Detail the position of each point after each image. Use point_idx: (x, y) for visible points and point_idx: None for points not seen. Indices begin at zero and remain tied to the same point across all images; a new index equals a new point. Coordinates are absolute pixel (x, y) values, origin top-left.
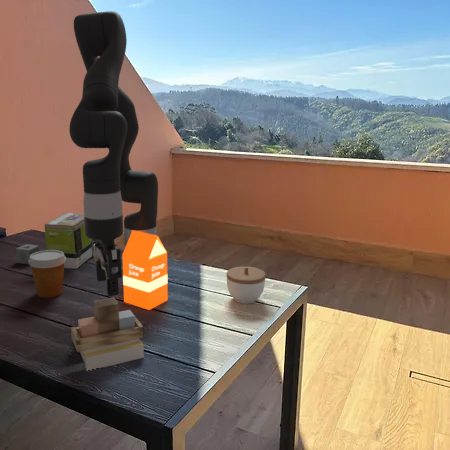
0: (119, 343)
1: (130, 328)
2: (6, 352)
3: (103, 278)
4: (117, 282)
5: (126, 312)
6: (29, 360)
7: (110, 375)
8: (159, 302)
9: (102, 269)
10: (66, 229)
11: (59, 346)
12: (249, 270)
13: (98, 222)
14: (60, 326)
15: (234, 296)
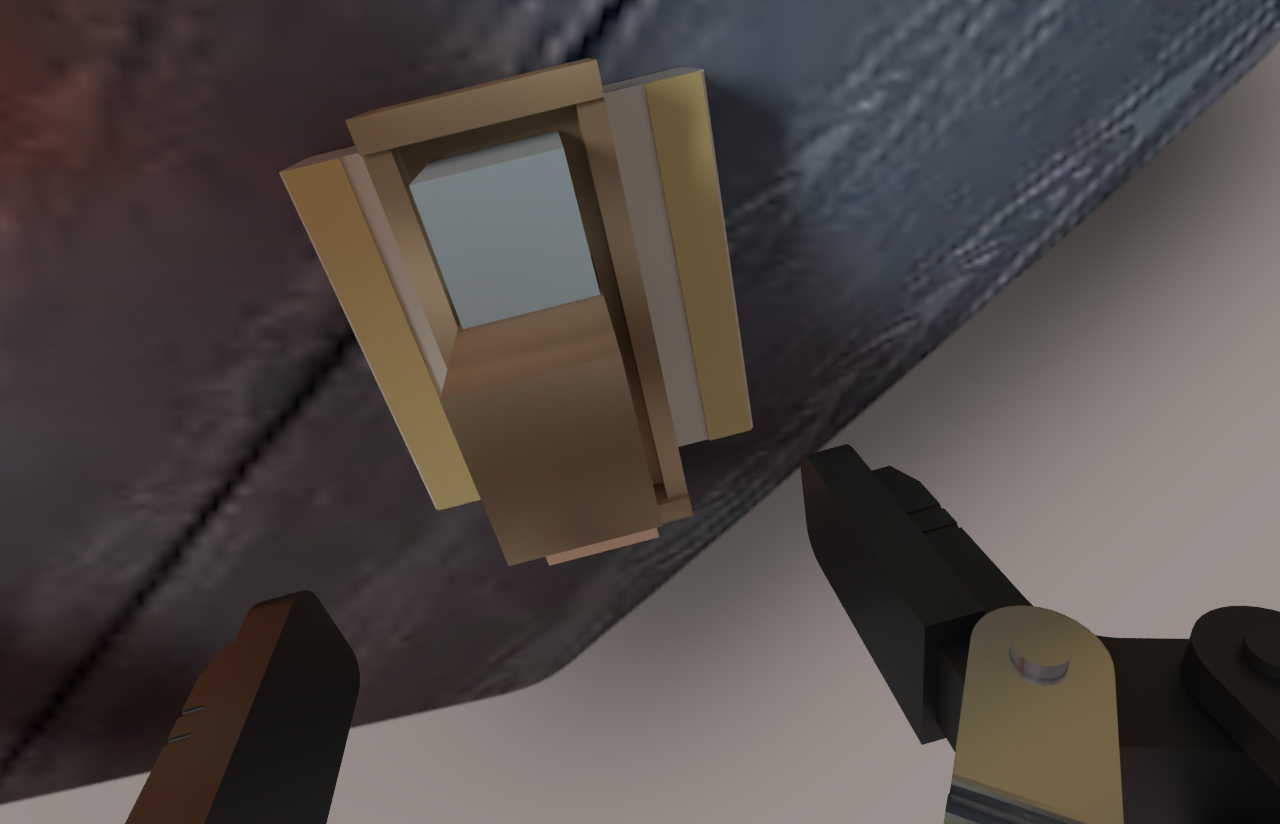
0: (638, 246)
1: (598, 177)
2: (489, 692)
3: (321, 642)
4: (936, 558)
5: (474, 223)
6: (572, 611)
7: (804, 279)
8: None
9: (278, 780)
10: None
11: (461, 526)
12: None
13: None
14: (222, 551)
15: None
